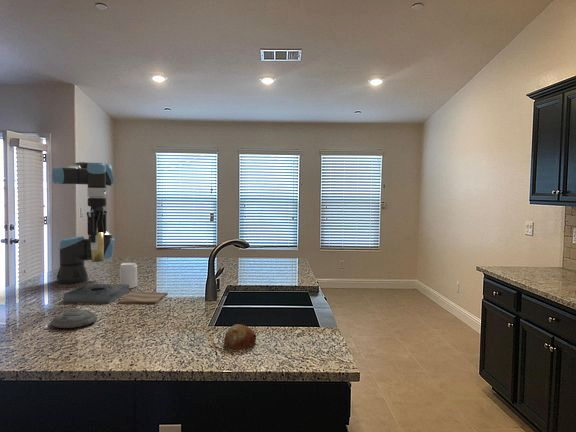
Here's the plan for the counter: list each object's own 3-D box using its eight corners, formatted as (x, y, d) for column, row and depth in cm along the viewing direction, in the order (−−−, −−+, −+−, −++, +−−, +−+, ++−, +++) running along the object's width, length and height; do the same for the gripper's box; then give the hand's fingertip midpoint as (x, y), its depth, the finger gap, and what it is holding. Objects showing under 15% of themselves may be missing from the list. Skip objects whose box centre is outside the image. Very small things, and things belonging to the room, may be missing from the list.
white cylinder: (131, 289, 195) (130, 265, 194) (116, 288, 197) (116, 264, 196) (140, 286, 203) (140, 262, 202) (126, 285, 205) (126, 262, 204)
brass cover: (95, 260, 183) (94, 231, 182) (105, 260, 183) (105, 232, 182) (89, 261, 178) (89, 233, 177) (100, 262, 178) (100, 233, 177)
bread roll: (230, 349, 132) (220, 327, 131) (258, 335, 132) (248, 314, 132) (228, 361, 122) (217, 338, 121) (259, 346, 122) (248, 323, 122)
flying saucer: (64, 334, 133) (64, 318, 133) (41, 325, 141) (41, 310, 141) (105, 322, 146) (105, 308, 146) (82, 315, 154) (82, 301, 154)
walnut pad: (133, 294, 187) (133, 291, 187) (167, 294, 186) (167, 292, 186) (118, 303, 171) (118, 301, 171) (155, 304, 170) (155, 301, 170)
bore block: (87, 291, 191) (87, 283, 191) (128, 291, 191) (128, 284, 191) (63, 302, 171) (63, 294, 171) (109, 303, 171) (109, 295, 171)
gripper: (95, 197, 170) (95, 251, 171) (114, 197, 187) (114, 246, 189) (77, 197, 170) (78, 251, 171) (98, 197, 188) (99, 246, 189)
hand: (97, 248), depth 180 cm, fingers closed on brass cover, 5 cm apart
